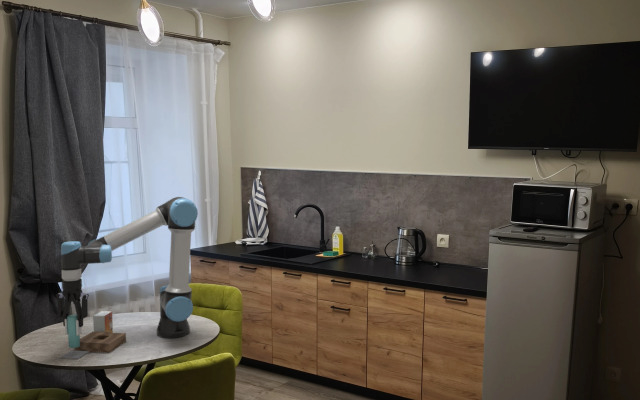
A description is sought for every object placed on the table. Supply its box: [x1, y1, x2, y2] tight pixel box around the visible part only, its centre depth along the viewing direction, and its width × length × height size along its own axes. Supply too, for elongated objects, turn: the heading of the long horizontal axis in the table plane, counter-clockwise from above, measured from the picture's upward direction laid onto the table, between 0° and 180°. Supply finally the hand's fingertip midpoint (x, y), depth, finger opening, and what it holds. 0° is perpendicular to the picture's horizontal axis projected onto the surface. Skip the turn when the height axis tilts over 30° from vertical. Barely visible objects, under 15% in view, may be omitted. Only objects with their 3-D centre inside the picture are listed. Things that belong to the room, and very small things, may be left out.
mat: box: [59, 349, 90, 360], centre depth 235 cm, size 8×8×1 cm
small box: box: [92, 310, 114, 333], centre depth 260 cm, size 8×6×10 cm
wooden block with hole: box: [74, 331, 127, 354], centre depth 245 cm, size 16×14×4 cm
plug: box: [67, 313, 81, 349], centre depth 234 cm, size 4×4×13 cm
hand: (73, 333), depth 234 cm, fingers closed on plug, 4 cm apart
